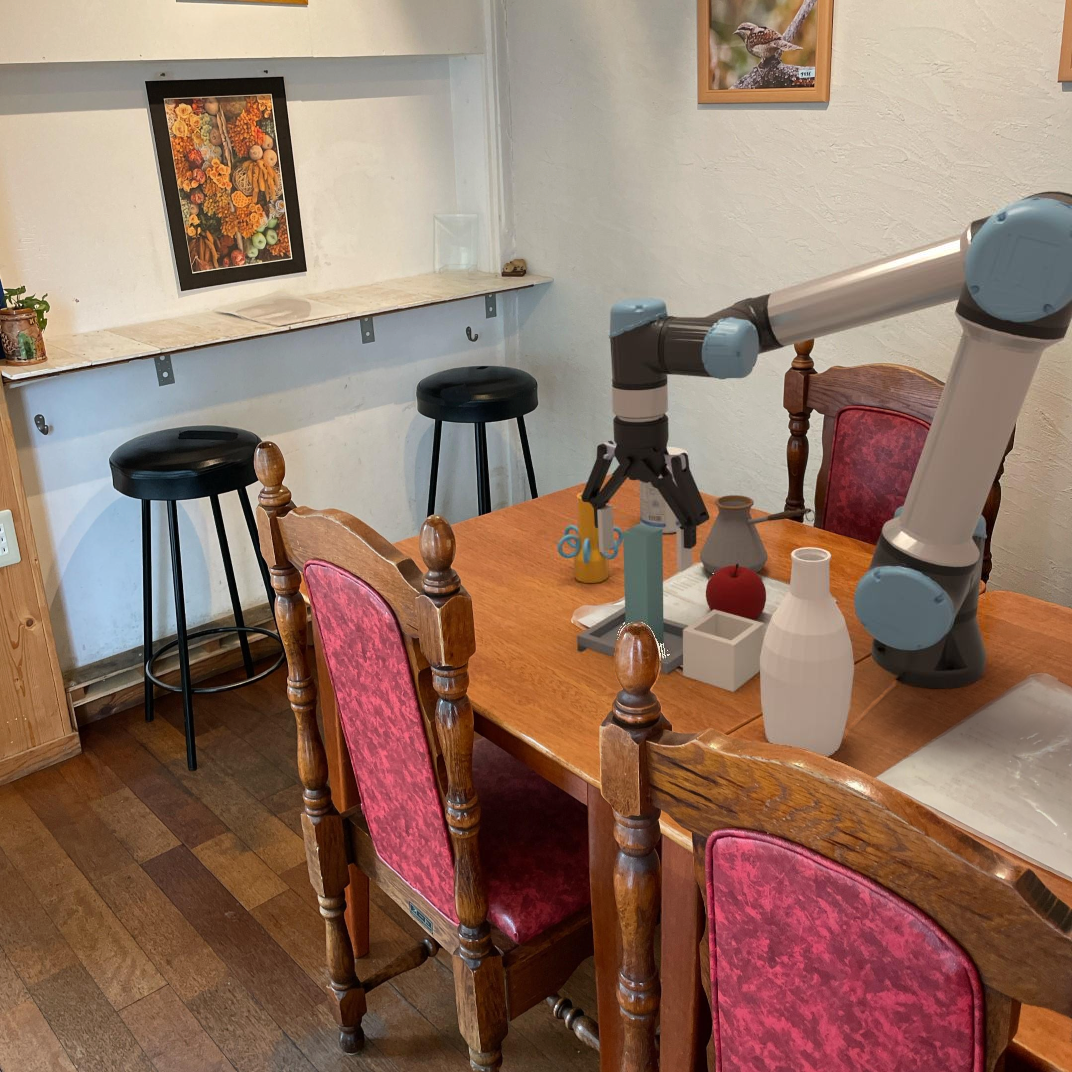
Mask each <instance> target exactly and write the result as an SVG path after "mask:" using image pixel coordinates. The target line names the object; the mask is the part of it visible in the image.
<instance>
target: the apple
mask: <svg viewBox="0 0 1072 1072" xmlns="http://www.w3.org/2000/svg"><path fill="white" fill-rule="evenodd" d="M705 598H706V604H707V606H708V608H709V610H710V612H711V611H712V610H718V611H722V612H725V613H729V614H733V615H736V616H740V617H743V618H747V619H751V620H754V621H757V619H759V617H760V616H761V615H762V613H763V611H764V609H765V607H766V601H767V591H766V586H765V583H764V581H763V579H762V578H761V577H760V575H759V573H758V572H757V573H756V572H754V571H752V570H750V569H748V568H745V567H739V565H738V564H736V566H734V565H733V566H727V567H724V568H722V569H720V570H718V571H717V572H716V573H715V574H714V575H713V574H712V575H711V576H710V578H709V579H708V581H707V584H706V589H705Z"/></svg>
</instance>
